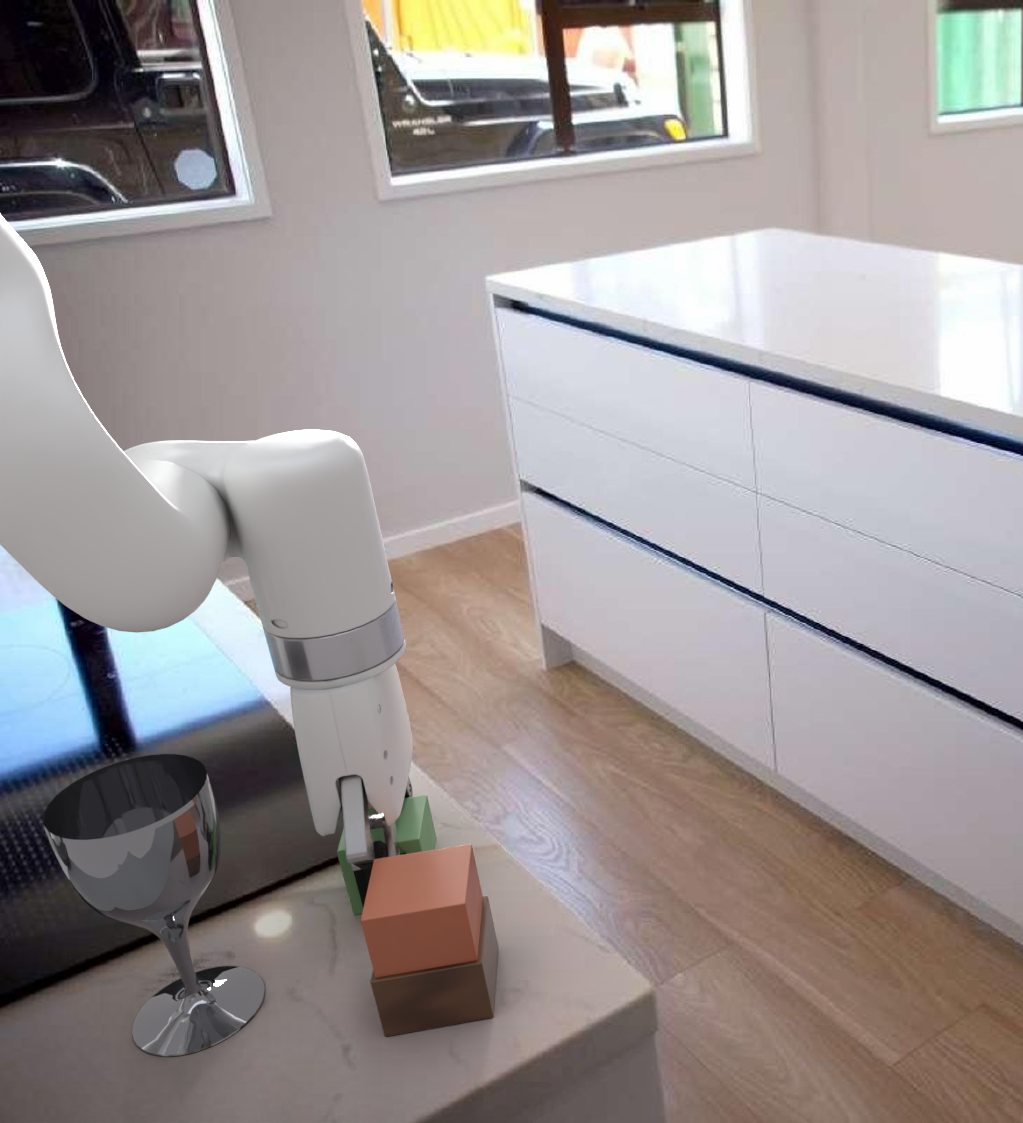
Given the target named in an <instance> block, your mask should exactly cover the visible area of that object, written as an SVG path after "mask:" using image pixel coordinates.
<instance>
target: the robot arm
mask: <svg viewBox="0 0 1023 1123" xmlns="http://www.w3.org/2000/svg"><path fill="white" fill-rule="evenodd" d="M55 314H56V313H55V308H54V302H53V297H52V292H51V288H50V285H49V282H48V278H47V277H46V274H45V271H44V268H43V266H42V264H41V262H40V260H39V259H38V257H37V255H36V254H35V252H34V251H33V250H32V248H30V246H29V245H28V244H27V243H26V242H25V241H24V239H23V238H22V237H21V236H20V235H19V234H18V233H17V231H16V230H15V229H14V228H13V227H12V226H11V225H10V223H9V222H8V221H7V220H6V219H5V218H4V216H3V215H2V214H1V213H0V546H1V547H2V548H3V549H4V550H5V551H6V552H7V553H8V554H9V555H10V556H11V557H12V558H13V559H14V560H15V561H16V562H17V563H18V564H19V565H20V566H21V567H22V568H23V569H24V570H25V571H26V572H27V573H28V574H29V575H30V576H31V577H32V578H33V579H34V580H35V581H36V582H37V583H38V584H39V585H40V586H41V587H42V588H44V589H45V590H46V591H47V592H48V593H49V594H50V595H52V596H53V597H54V598H55V599H56V600H58V602H60V603H61V604H62V605H64V606H65V607H67V608H68V609H70V610H71V611H72V612H74V613H75V614H77V615H79V616H80V617H82V618H83V619H84V620H85V619H86V620H88V621H89V622H92V623H95V624H97V625H99V626H101V627H103V628H108V629H112V630H114V631H118V632H125V633H149V632H156V631H160V630H163V629H167V628H171V627H172V626H175V625H176V624H178V623H180V622H182V621H184V620H185V619H187V618H188V617H190V616H191V615H192V614H193V613H195V612H196V611H197V610H198V609H199V608H200V607H201V606H202V604H204V602H205V601H206V599H207V598H208V596H209V595H210V594H211V591H212V588H213V587H214V584H215V583H216V581H217V579H218V576H219V574H220V571H221V568H222V564H223V563H224V562H225V561H227V560H229V559H230V558H238V559H240V560H242V561H243V562H244V564H245V567H246V571H247V574H248V578H249V581H250V586H251V589H252V593H253V596H254V601H255V604H256V607H257V611H258V615H259V618H260V622H261V625H262V626H261V627H262V630H263V634H264V638H265V641H266V645H267V648H268V652H269V655H270V659H271V663H272V666H273V670H274V674H275V677H276V679H277V681H279V682H280V683H281V684H282V685H285V686H287V687H289V688H290V689H289V690H290V691H289V692H290V703H291V704H290V705H291V713H292V714H291V715H292V721H293V729H294V734H295V741H296V747H297V752H298V757H299V762H300V767H301V771H302V776H303V781H304V786H305V791H306V795H307V799H308V803H309V809H310V812H311V817H312V821H313V825H314V829H315V831H316V832H317V833H318V834H319V835H320V836H322V837H328V836H329V835H333V834H334V835H335V834H336V831H337V827H338V823H339V820H340V817H341V815H342V820H343V828H344V836H345V851H346V859H347V862H348V863H351V867H352V870H353V872H354V876H355V880H356V883H357V887H358V891H359V895H360V898H361V902H362V906H363V908H364V903H365V899H366V894H367V890H368V885H369V881H370V876H371V872H372V867H373V863H374V859H379V858H385V857H392V856H398V855H404V854H406V853H400V848H399V842H398V836H397V830H396V824H395V821H396V820H397V819H398V817H399V816H400V813H401V810H402V806H403V801H404V798H409V797H414V794H413V793H414V790H413V785H412V781H411V778H410V771H411V766H412V759H413V752H414V751H413V748H414V746H413V745H414V744H413V734H412V727H411V722H410V716H409V713H408V708H407V703H406V700H405V695H404V690H403V687H402V683H401V680H400V675H399V672H398V668H397V665H396V664H397V663H398V661H400V660H401V659H402V657H403V656H404V655H405V653H406V650H407V642H406V637H405V633H404V628H403V624H402V620H401V615H400V611H399V605H398V601H397V597H396V595H395V594H396V592H395V589H394V584H393V579H392V576H391V571H390V567H389V562H388V558H387V552H386V549H385V544H384V539H383V535H382V530H381V526H380V525H381V524H380V521H379V516H378V511H377V508H376V503H375V499H374V494H373V489H372V484H371V481H370V476H369V471H368V467H367V463H366V460H365V456H364V454H363V452H362V450H361V448H360V446H359V445H358V444H357V442H356V441H354V440H353V438H351V437H350V436H348V435H345V434H343V433H341V432H338V431H335V430H327V429H326V430H325V429H301V430H300V429H299V430H292V431H285V432H280V433H275V434H271V435H268V436H264V437H261V438H258V439H256V440H240V441H239V440H237V441H235V440H231V441H230V440H225V441H223V440H218V441H217V440H158V441H151V442H150V441H149V442H145V443H141V444H138V445H135V446H132V447H130V448H127V449H125V450H123V449H122V448H121V447H120V446H119V445H118V443H117V442H116V441H115V440H114V438H113V437H112V436H111V434H109V433H108V431H107V430H106V428H105V426H103V424H102V423H101V421H100V420H99V419H98V417H97V416H96V415H95V413H94V411H93V410H92V408H91V407H90V405H89V404H88V402H87V400H86V399H85V397H84V395H83V394H82V391H81V390H80V388H79V387H78V384H77V383H76V381H75V378H74V376H73V374H72V372H71V370H70V368H69V365H68V363H67V360H66V357H65V354H64V351H63V348H62V346H61V341H60V337H59V332H58V326H57V322H56V315H55ZM373 808H374V809H375V810H376V811H377V812H378V814H373V815H369V810H368V809H373ZM382 827H383V830H384V836H385V842H386V844H385V843H384V842H382V841H381V840H379V841H374V840H372V838H371V834H370V829H376V828H382Z"/></svg>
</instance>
